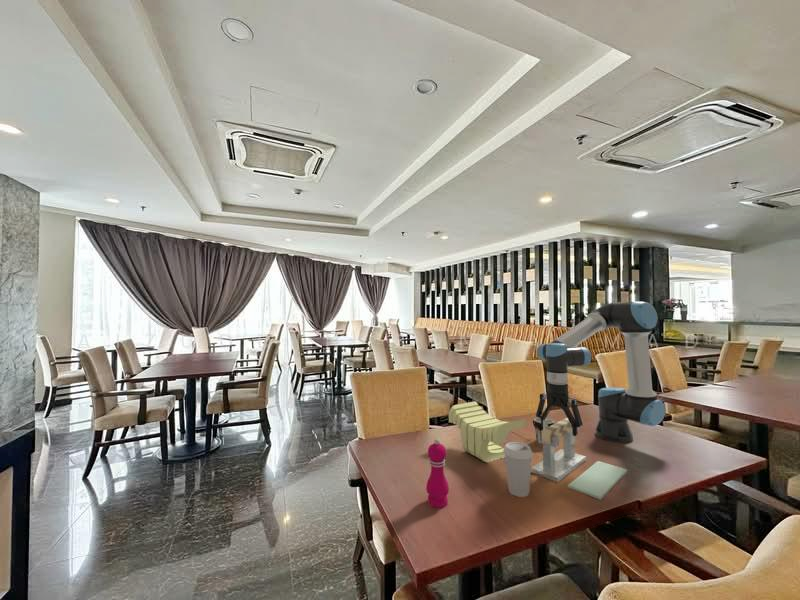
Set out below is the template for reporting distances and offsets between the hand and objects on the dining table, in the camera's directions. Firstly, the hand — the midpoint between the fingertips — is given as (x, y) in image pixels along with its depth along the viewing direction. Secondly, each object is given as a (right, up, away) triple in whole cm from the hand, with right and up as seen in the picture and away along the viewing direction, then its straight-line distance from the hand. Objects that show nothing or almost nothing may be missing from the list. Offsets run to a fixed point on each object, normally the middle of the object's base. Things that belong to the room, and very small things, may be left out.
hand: (558, 439), depth 131 cm
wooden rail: (0, +2, 0) cm, 2 cm away
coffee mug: (+5, -11, +25) cm, 28 cm away
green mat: (+9, -10, -11) cm, 17 cm away
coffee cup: (-22, -10, -19) cm, 31 cm away
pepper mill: (-51, -10, -24) cm, 57 cm away
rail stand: (0, -10, 0) cm, 10 cm away
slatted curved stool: (-26, -11, +11) cm, 30 cm away
